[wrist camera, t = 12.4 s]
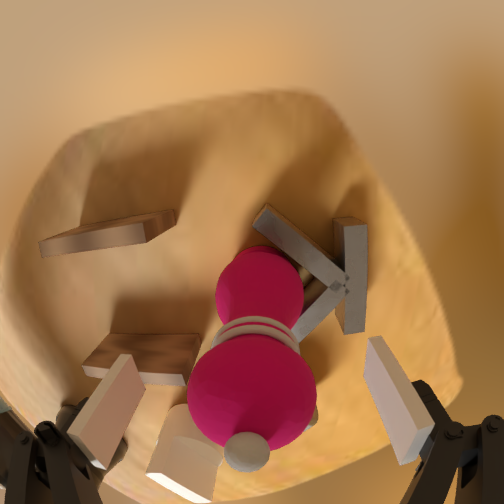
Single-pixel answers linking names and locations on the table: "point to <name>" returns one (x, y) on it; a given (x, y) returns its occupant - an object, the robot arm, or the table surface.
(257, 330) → the pepper mill
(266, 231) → the letter k block
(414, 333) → the table surface
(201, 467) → the base with upright slab
